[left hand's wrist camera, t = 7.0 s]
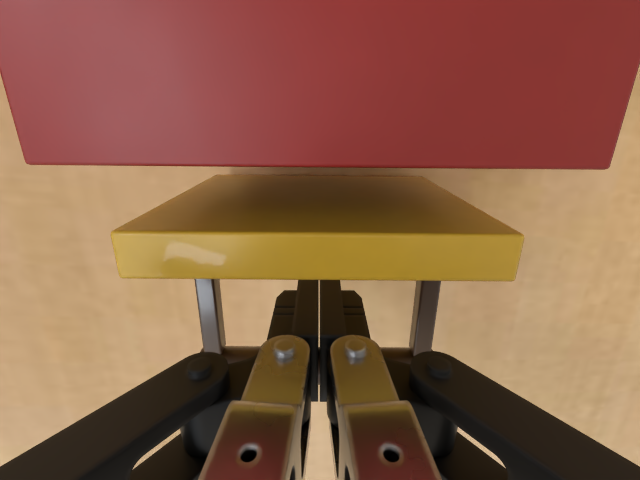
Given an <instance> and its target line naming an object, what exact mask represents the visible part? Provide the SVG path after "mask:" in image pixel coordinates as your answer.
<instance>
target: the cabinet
mask: <svg viewBox="0 0 640 480" xmlns="http://www.w3.org/2000/svg"><path fill="white" fill-rule="evenodd" d="M639 64H640V0H0V73H1V76H2V80H3V84H4V87H5V91H6V94H7V98H8V102H9V105H10V109H11V112H12V116H13V119H14V123H15V127H16V130H17V134H18V137H19V141H20V145H21V148H22V152H23V155H24V159H25V162H26V163H27V164H30V165H114V166H234V167H354V168H475V169H595V170H604V169H608V168H609V167H610V164H611V160H612V157H613V153H614V150H615V147H616V143H617V140H618V136H619V133H620V129H621V126H622V122H623V119H624V116H625V112H626V109H627V105H628V102H629V98H630V95H631V92H632V88H633V85H634V81H635V78H636V74H637V71H638V68H639Z"/></svg>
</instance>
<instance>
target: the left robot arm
mask: <svg viewBox="0 0 640 480" xmlns="http://www.w3.org/2000/svg"><path fill="white" fill-rule="evenodd" d="M311 401H318V280H298V287H297V290H284V291H283V292H282V293H281V294H280V295H279V296H278V297H277V299H276V303H275V308H274V312H273V316H272V320H271V325H270V329H269V333H268V338H267V341H266V342H265V343H263V345H262V346H261V347H260V350H259V352H258V354H256V355H255V356H253V357H251V358H248V359H246V360H242V361H238V362H234V363H230V364H228V362H227V360H226V358H225V357H224V356H223V355H221V354H218V353H215V352H201V353H197V354H193V355H191V356H189V357H187V358H185V359H183V360H181V361H180V362H178V363H176V364H174V365H173V366H171V367H169V368H168V369H166V370H164V371H163V372H161V373H159V374H157V375H156V376H154V377H152V378H151V379H149V380H147V381H145V382H144V383H142V384H140V385H139V386H137V387H135V388H134V389H132V390H130V391H128V392H127V393H125V394H123V395H122V396H120V397H118V398H117V399H115V400H113V401H111V402H110V403H108V404H106V405H105V406H103V407H101V408H99V409H98V410H96V411H94V412H93V413H91V414H89V415H88V416H86V417H84V418H82V419H81V420H79V421H77V422H76V423H74V424H72V425H71V426H69V427H67V428H65V429H64V430H62V431H60V432H59V433H57V434H55V435H53V436H52V437H50V438H48V439H47V440H45V441H43V442H42V443H40V444H38V445H36V446H35V447H33V448H31V449H30V450H28V451H26V452H25V453H23V454H21V455H19V456H18V457H16V458H14V459H13V460H11V461H9V462H7V463H6V464H4V465H2V466H1V467H0V480H305V472H306V463H307V455H308V446H309V438H310V429H311ZM320 402H327V415H328V418H329V429H330V437H331V446H332V455H333V463H334V472H335V480H640V467H639V466H638V465H636V464H634V463H633V462H631V461H629V460H627V459H626V458H624V457H622V456H621V455H619V454H617V453H615V452H614V451H612V450H610V449H609V448H607V447H605V446H604V445H602V444H600V443H598V442H597V441H595V440H593V439H592V438H590V437H588V436H587V435H585V434H583V433H581V432H580V431H578V430H576V429H575V428H573V427H571V426H569V425H568V424H566V423H564V422H563V421H561V420H559V419H558V418H556V417H554V416H552V415H551V414H549V413H547V412H546V411H544V410H542V409H541V408H539V407H537V406H535V405H534V404H532V403H530V402H529V401H527V400H525V399H523V398H522V397H520V396H518V395H517V394H515V393H513V392H512V391H510V390H508V389H506V388H505V387H503V386H501V385H500V384H498V383H496V382H495V381H493V380H491V379H489V378H488V377H486V376H484V375H483V374H481V373H479V372H477V371H476V370H474V369H472V368H471V367H469V366H467V365H466V364H464V363H462V362H460V361H459V360H457V359H455V358H454V357H452V356H450V355H447V354H444V353H441V352H436V351H426V352H421V353H419V354H417V355H415V356H414V357H413V358H412V360H411V364H407V363H403V362H399V361H395V360H391V359H389V358H387V357H385V356H383V355H382V352H381V349H380V347H379V346H378V345H377V343H375V342H374V341H373V340H371V338H370V334H369V329H368V325H367V320H366V316H365V311H364V308H363V303H362V298H361V297H360V296H359V295H358V294H357V293H356V292H355V291H354V290H341V286H340V280H320ZM458 427H459V428H460V429H462V430H463V431H465V432H466V433H467V434H469V435H470V436H471V437H473V438H474V439H475V440H477V441H478V442H479V443H481V444H482V445H483V446H485V447H486V448H487V449H489V450H490V451H491V452H493V453H494V454H495V455H496V456H497V457H498V458H499V459H500V460H501V461H502V462H503V464H504V466H505V467H506V468H504V467H503V466H502V465H500V464H499V463H498V462H496V461H495V460H494V459H492V458H491V457H490V456H488V455H487V454H486V453H485V452H483V451H482V450H481V449H479V448H478V447H477V446H475V445H474V444H473V443H471V442H470V441H469V440H467V439H466V438H465V437H463V436H462V435H461V434H459V433H458V432H457V428H458ZM178 429H180V431H181V434H179V435H178V436H177V437H175V438H174V439H173V440H171V441H170V442H169V443H167V444H166V445H165V446H163V447H162V448H161V449H159V450H158V451H157V452H155V453H154V454H153V455H152V456H150V457H149V458H148V459H146V460H145V461H144V462H142V463H141V464H140V465H138V466H137V467H136V468H134V469H133V467H134V465H135V464H136V463H137V461H138V460H139V459H140V458H141V457H142V456H143V455H145V454H146V453H147V452H149V451H150V450H151V449H153V448H154V447H155V446H157V445H158V444H159V443H161V442H162V441H163V440H165V439H166V438H167V437H169V436H170V435H171V434H173V433H174V432H175V431H177V430H178ZM132 469H133V470H132Z"/></svg>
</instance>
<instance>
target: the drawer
mask: <svg viewBox="0 0 640 480" xmlns="http://www.w3.org/2000/svg"><path fill="white" fill-rule="evenodd" d="M111 239H112V243H113V248H114V253H115V257H116V262H117V267H118V272H119V276H120V277H121V278H155V279H195V286H196V293H197V301H198V309H199V317H200V324H201V332H202V340H203V348H202V350H201V352H215V353H218V354H221V355H223V356H224V357H225V358H226V360H227V362H228V364H230V363H234V362H238V361H242V360H246V359H248V358H251V357H253V356H255V355H256V354H258V352H259V350H260V347H259V346H225V345H226V341H225V331H224V321H223V312H222V302H221V292H220V282H219V279H283V280H411V281H416V290H415V298H414V307H413V316H412V324H411V333H410V342H409V347H410V348H392V347H380V349H381V352H382V355H383V356H385V357H387V358H389V359H391V360H395V361H399V362H403V363H407V364H411V360H412V358H413V357H414V356H415V355H417V354H419V353H421V352H426V351H433V350H432V349H431V347H432V340H433V333H434V326H435V319H436V312H437V305H438V298H439V291H440V284H441V281H514V280H515V278H516V273H517V269H518V264H519V260H520V255H521V251H522V246H523V242H524V235H523V234H521V233H520V232H518V231H516V230H514V229H513V228H511V227H509V226H507V225H506V224H504V223H502V222H500V221H499V220H497V219H495V218H493V217H492V216H490V215H488V214H486V213H485V212H483V211H481V210H479V209H478V208H476V207H474V206H472V205H471V204H469V203H467V202H465V201H464V200H462V199H460V198H458V197H457V196H455V195H453V194H451V193H450V192H448V191H446V190H444V189H443V188H441V187H439V186H437V185H436V184H434V183H432V182H430V181H429V180H427V179H425V178H423V177H413V176H292V175H215V176H213V177H212V178H210V179H208V180H206V181H204V182H202V183H200V184H199V185H197V186H195V187H193V188H191V189H189V190H187V191H186V192H184V193H182V194H180V195H178V196H176V197H174V198H173V199H171V200H169V201H167V202H165V203H163V204H161V205H160V206H158V207H156V208H154V209H152V210H150V211H148V212H147V213H145V214H143V215H141V216H139V217H137V218H136V219H134V220H132V221H130V222H128V223H126V224H124V225H123V226H121V227H119V228H117V229H115V230H113V231H112V232H111ZM201 352H200V353H201ZM318 385H320V347H318Z"/></svg>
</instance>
